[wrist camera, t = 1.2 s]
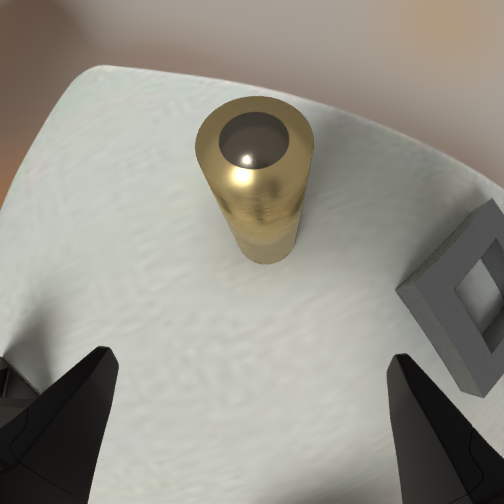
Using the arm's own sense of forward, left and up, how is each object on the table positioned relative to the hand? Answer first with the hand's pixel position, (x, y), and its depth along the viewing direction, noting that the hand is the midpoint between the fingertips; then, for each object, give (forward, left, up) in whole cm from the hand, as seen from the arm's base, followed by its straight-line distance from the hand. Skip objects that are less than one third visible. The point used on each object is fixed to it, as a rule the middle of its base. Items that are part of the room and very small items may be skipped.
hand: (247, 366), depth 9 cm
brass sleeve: (+6, -5, -13) cm, 15 cm away
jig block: (-9, -16, -13) cm, 22 cm away
